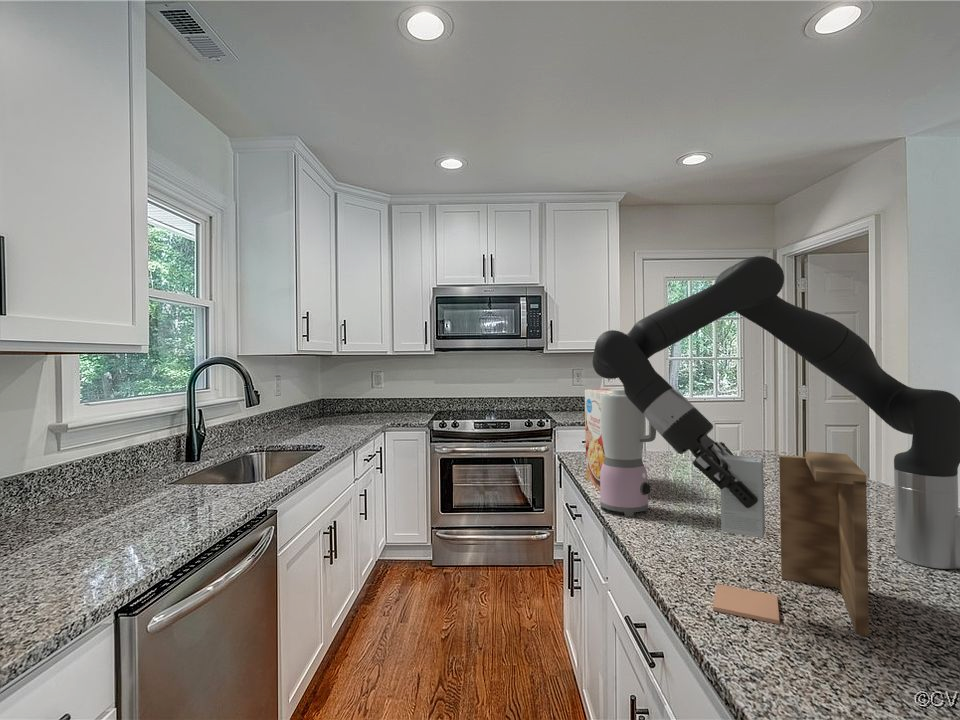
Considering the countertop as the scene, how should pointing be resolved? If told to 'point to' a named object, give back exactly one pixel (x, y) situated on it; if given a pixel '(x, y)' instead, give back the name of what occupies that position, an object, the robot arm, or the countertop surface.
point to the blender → (623, 455)
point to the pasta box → (594, 435)
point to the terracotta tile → (746, 603)
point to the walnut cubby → (826, 527)
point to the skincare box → (732, 509)
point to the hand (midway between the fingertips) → (755, 500)
